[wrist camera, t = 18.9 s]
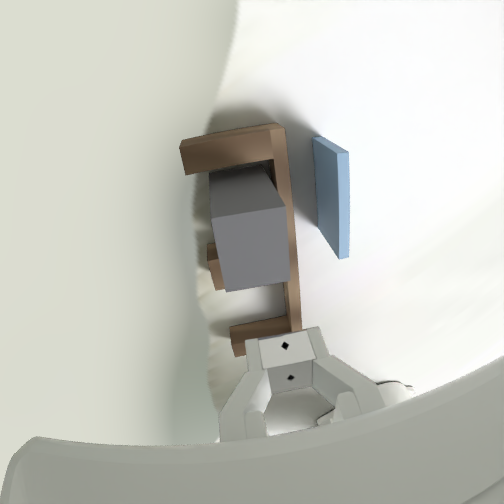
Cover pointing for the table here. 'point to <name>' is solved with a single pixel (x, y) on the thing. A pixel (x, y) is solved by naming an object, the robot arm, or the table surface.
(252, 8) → the table surface
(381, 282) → the table surface
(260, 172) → the plug
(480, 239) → the table surface
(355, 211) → the table surface
